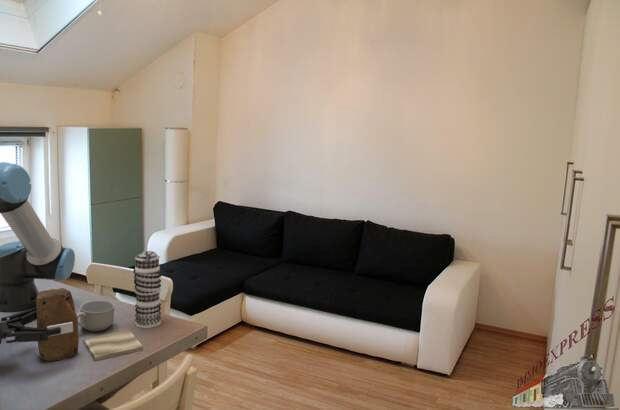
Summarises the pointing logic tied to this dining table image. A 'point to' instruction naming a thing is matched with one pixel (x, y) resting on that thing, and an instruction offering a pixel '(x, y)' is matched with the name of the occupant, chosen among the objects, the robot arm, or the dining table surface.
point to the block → (54, 311)
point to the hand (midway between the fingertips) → (67, 318)
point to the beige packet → (112, 345)
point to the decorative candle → (147, 289)
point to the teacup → (96, 315)
